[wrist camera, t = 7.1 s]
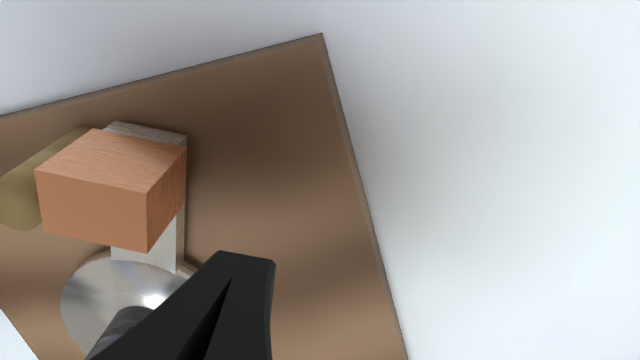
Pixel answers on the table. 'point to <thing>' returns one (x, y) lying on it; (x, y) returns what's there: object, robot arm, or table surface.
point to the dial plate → (125, 270)
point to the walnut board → (221, 199)
